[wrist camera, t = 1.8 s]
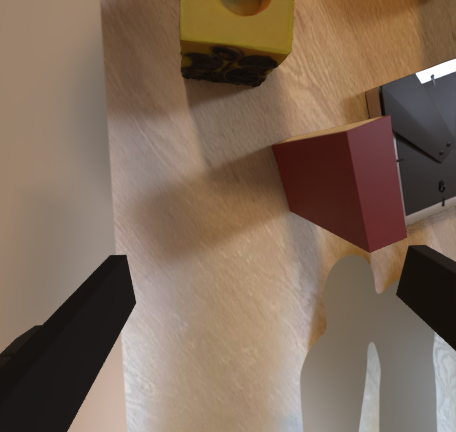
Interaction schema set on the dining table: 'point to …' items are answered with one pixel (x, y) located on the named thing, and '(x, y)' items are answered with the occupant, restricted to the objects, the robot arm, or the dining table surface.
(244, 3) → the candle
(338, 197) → the book
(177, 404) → the dining table surface
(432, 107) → the picture frame
